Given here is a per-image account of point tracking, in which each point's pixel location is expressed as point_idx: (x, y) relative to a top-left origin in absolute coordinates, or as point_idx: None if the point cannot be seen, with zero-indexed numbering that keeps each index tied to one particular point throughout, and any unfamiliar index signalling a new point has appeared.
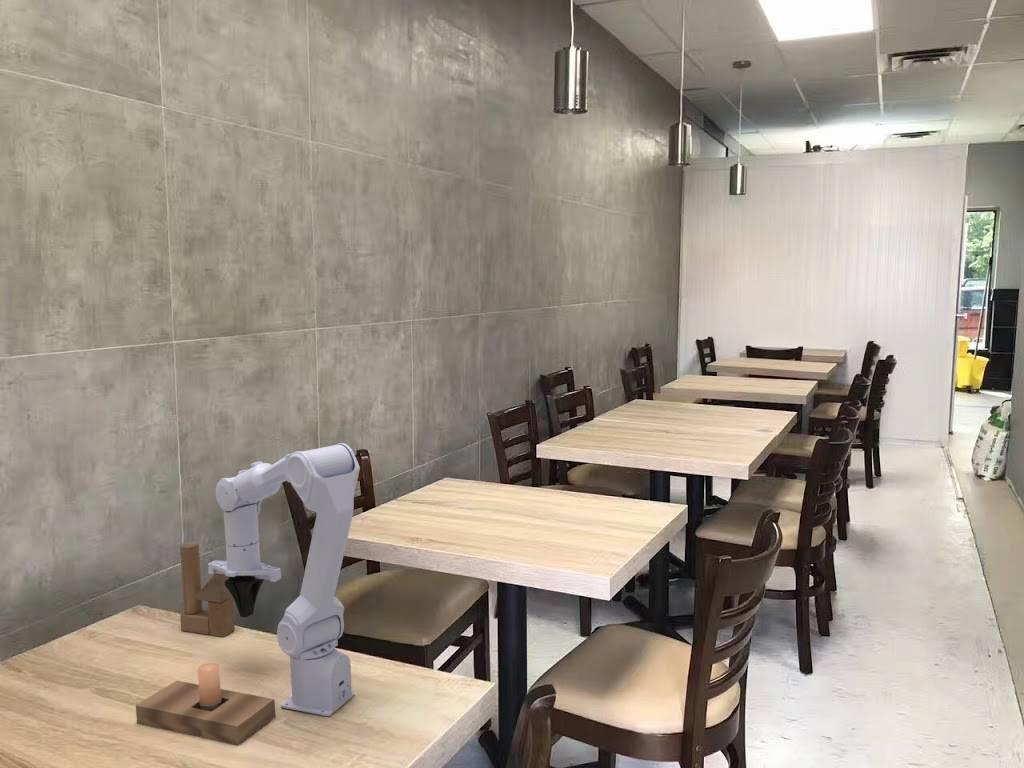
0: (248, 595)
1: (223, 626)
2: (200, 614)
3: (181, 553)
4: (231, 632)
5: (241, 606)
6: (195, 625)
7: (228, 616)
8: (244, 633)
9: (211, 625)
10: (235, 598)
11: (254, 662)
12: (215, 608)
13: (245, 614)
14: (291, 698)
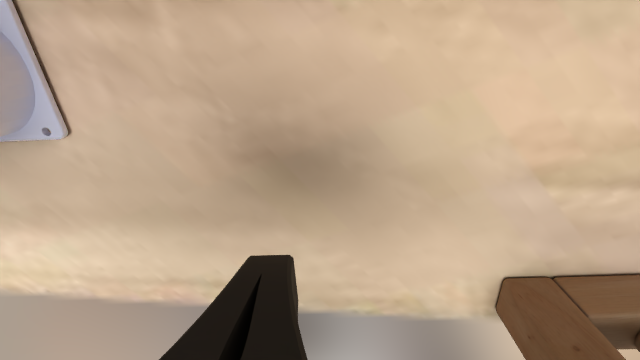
0: None
1: (519, 302)
2: (628, 327)
3: None
4: (498, 301)
5: (242, 303)
6: (616, 291)
7: (526, 337)
8: (461, 306)
9: (561, 298)
10: (276, 358)
11: (324, 198)
12: (583, 350)
13: (241, 267)
14: (13, 39)
